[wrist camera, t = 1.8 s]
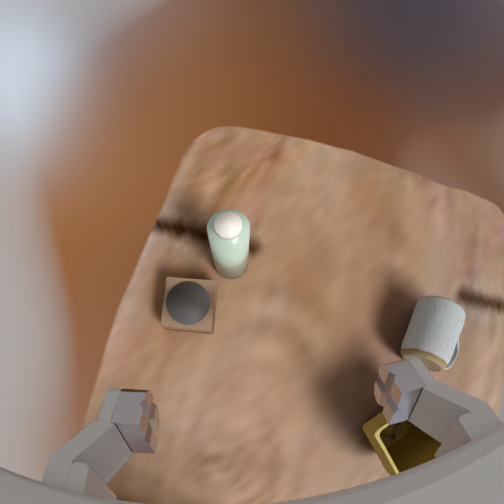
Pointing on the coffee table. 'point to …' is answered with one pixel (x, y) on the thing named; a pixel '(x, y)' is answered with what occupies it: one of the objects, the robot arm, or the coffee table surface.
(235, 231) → the column
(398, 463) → the flower pot
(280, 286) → the coffee table surface
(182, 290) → the base
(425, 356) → the ceramic mug
